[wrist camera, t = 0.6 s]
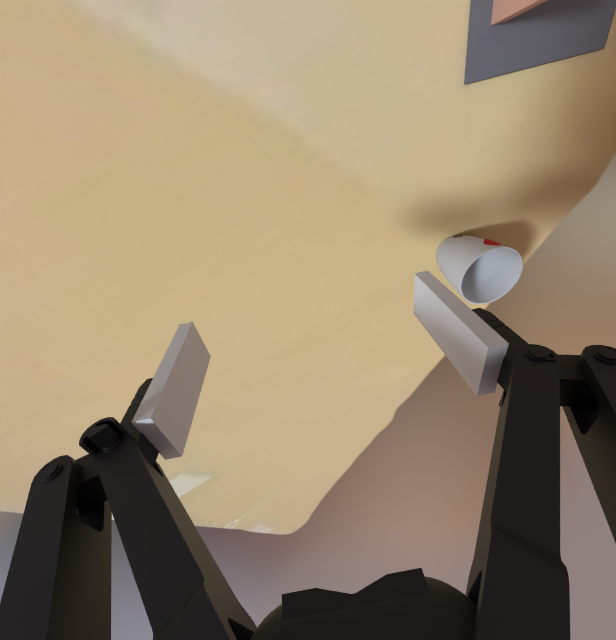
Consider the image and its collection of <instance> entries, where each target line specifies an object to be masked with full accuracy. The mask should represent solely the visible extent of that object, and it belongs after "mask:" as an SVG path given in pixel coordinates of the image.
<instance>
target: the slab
mask: <svg viewBox="0 0 616 640" xmlns="http://www.w3.org/2000/svg"><path fill="white" fill-rule="evenodd" d="M545 1H547V0H494V1H493V10H492V19H491V25H495V24H499V23H503V22H506V21H508V20H510V19H512V18H514V17H516V16H518V15H520V14H522V13H524V12H526V11H528V10H530V9H532V8H534V7H536V6H537V5H539V4H541V3H543V2H545Z"/></svg>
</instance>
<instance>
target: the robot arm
mask: <svg viewBox="0 0 616 640" xmlns="http://www.w3.org/2000/svg"><path fill="white" fill-rule="evenodd" d="M413 313H414V315H415V316H416V317H417V318H418V320H419V321H420V322H421V324H422V325H423V326H424V328H425V329H426V330H427V331H428V333H429V334H430V335H431V337H432V338H433V339H434V341H435V342H436V343H437V344H438V346H439V347H440V348H441V350H442V351H443V352H444V354H445V355H446V356H447V357H448V359H449V360H450V361H451V362H452V364H453V365H454V367H455V368H456V369H457V370H458V372H459V373H460V374H461V376H462V377H463V378H464V380H465V381H466V382H467V383H468V385H469V386H470V387H471V389H472V390H473V391H474V392H475V394H476V395H477V396H478V395H483V394H488V393H493V392H495V389H496V385H497V382H498V383H499V384H500V386H501V387H502V388H503V389H504V391H503V394H502V397H501V400H500V403H499V406H500V411H499V417H498V422H497V428H496V434H495V439H494V445H493V451H492V457H491V462H490V469H489V474H488V480H487V485H486V491H485V497H484V502H483V508H482V514H481V520H480V525H479V532H478V537H477V543H476V549H475V554H474V559H473V563H472V567H471V570H470V575H469V579H468V585H467V590H466V595H464V594H463V593H462V592H460V591H459V590H457V589H456V588H454V587H452V586H451V585H449V584H447V583H444V582H442V581H440V580H437V579H433V578H430V577H425V576H424V574H423V572H422V568H418V569H413V570H407V571H403V572H397V573H392V574H387V575H385V576H383V577H382V578H380V579H379V580H377V581H375V582H373V583H372V584H370V585H368V586H367V587H365V588H364V589H362V590H360V591H358V592H357V593H355V594H347V593H341V592H336V591H329V590H324V589H319V588H313V589H308V590H303V591H297V592H292V593H287V594H282V605H280V606H278V607H277V608H276V609H274V610H273V611H272V612H271V613H270V614H269V615H268V616H267V617H266V618H265V619H264V620H263V621H262V622H261V624H260V625H259V626H258V628H257V627H256V625H255V624H254V622H253V620H252V619H251V617H250V616H249V615H248V613H247V612H246V611H245V610H244V608H243V607H242V606H241V604H240V603H239V601H238V600H237V598H236V597H235V595H234V593H233V591H232V590H231V588H230V586H229V585H228V583H227V581H226V580H225V578H224V576H223V574H222V572H221V571H220V569H219V567H218V565H217V564H216V562H215V560H214V559H213V557H212V555H211V553H210V552H209V550H208V548H207V547H206V545H205V543H204V541H203V540H202V538H201V536H200V535H199V533H198V531H197V529H196V528H195V526H194V524H193V522H192V521H191V519H190V517H189V515H188V514H187V512H186V510H185V508H184V507H183V505H182V503H181V502H180V500H179V498H178V496H177V495H176V493H175V491H174V489H173V488H172V486H171V484H170V483H169V481H168V479H167V477H166V476H165V474H164V472H163V470H162V469H161V467H160V465H159V464H158V463H157V462H156V459H157V456H158V453H160V454H161V455H162V456H163V458H164V459H165V460H166V459H170V458H175V457H180V456H182V455H183V451H184V448H185V444H186V441H187V437H188V434H189V430H190V427H191V423H192V420H193V416H194V413H195V409H196V406H197V402H198V399H199V395H200V392H201V388H202V385H203V381H204V378H205V374H206V371H207V367H208V364H209V360H210V357H211V356H210V354H209V352H208V350H207V348H206V347H205V345H204V343H203V341H202V339H201V337H200V335H199V333H198V331H197V329H196V328H195V326H194V324H193V322H189V323H184V324H180V325H179V327H178V329H177V331H176V333H175V335H174V337H173V339H172V341H171V343H170V345H169V347H168V349H167V351H166V353H165V355H164V357H163V359H162V361H161V363H160V365H159V367H158V369H157V372H156V374H155V376H154V378H150V379H147V380H146V381H145V382H144V383H143V384H142V385H141V386H140V387H139V389H138V391H137V393H136V395H135V398H134V399H133V400H132V402H131V406H129V408H128V410H127V412H126V414H125V415H124V417H123V419H122V421H121V423H119V422H118V421H117V420H116V419H114V418H113V417H107V418H104V419H101V420H99V421H97V422H95V423H94V424H93V425H91V426H90V427H89V428H88V429H87V430H86V431H85V432H84V433H83V434H82V436H81V438H80V440H79V445H80V446H81V447H82V448H83V449H84V450H85V451H87V452H88V453H89V454H88V455H86V456H84V457H81V458H79V459H77V460H74V459H73V458H71V457H70V456H68V455H64V456H60V457H58V458H55V459H53V460H52V461H50V462H49V463H47V464H46V465H45V466H44V467H43V468H42V469H41V470H40V471H39V472H38V473H37V474H36V476H35V477H34V479H33V481H32V484H31V487H30V491H29V495H28V499H27V503H26V507H25V510H24V514H23V518H22V522H21V526H20V530H19V534H18V538H17V541H16V545H15V549H14V553H13V557H12V561H11V564H10V568H9V572H8V576H7V580H6V583H5V588H4V591H3V595H2V599H1V603H0V640H111V517H112V514H113V517H114V519H115V522H116V525H117V528H118V531H119V534H120V536H121V540H122V543H123V546H124V549H125V551H126V554H127V557H128V560H129V563H130V566H131V569H132V572H133V575H134V578H135V581H136V583H137V586H138V589H139V592H140V595H141V598H142V601H143V604H144V607H145V610H146V613H147V616H148V618H149V621H150V624H151V627H152V631H153V640H570V604H569V603H570V600H569V577H568V572H567V568H566V566H565V565H564V564H563V562H562V561H561V557H560V406H563V409H564V412H565V414H566V416H567V419H568V422H569V424H570V427H571V429H572V432H573V435H574V437H575V440H576V442H577V445H578V447H579V450H580V453H581V455H582V457H583V460H584V463H585V465H586V468H587V470H588V473H589V476H590V478H591V481H592V483H593V486H594V489H595V491H596V494H597V496H598V499H599V501H600V504H601V507H602V509H603V512H604V514H605V517H606V519H607V521H608V524H609V527H610V530H611V532H612V534H613V537H614V540H615V542H616V349H615V348H612V347H609V346H603V345H591V346H588V347H585V349H584V350H583V351H582V353H581V355H558V354H556V353H555V352H554V351H552V350H550V349H549V348H547V347H544V346H540V345H534V344H528V343H527V342H526V341H524V340H523V339H522V338H521V337H520V336H518V335H517V334H516V333H515V332H513V331H512V330H511V329H510V328H509V327H508V326H505V324H504V323H503V322H502V321H499V319H498V318H497V317H496V316H494V315H493V314H492V313H491V312H488V311H486V310H484V309H481V308H477V309H472V310H471V309H470V308H469V307H468V306H467V305H466V304H464V303H463V302H462V301H461V300H460V299H459V298H458V297H457V296H456V295H454V294H453V293H452V292H451V291H450V290H449V289H448V288H447V287H446V286H444V285H443V284H442V283H441V282H440V281H439V280H438V279H437V278H436V277H434V276H433V275H432V274H431V273H430V272H429V271H424V272H420V273H415V280H414V309H413Z"/></svg>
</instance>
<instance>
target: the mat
mask: <svg viewBox="0 0 616 640" xmlns="http://www.w3.org/2000/svg"><path fill="white" fill-rule="evenodd" d="M493 1H494V0H471V6H470V19H469V31H468V44H467V56H466V69H465V81H464V84H468V83H472V82H476V81H480V80H484V79H487V78H491V77H495V76H499V75H503V74H507V73H511V72H514V71H518V70H522V69H526V68H530V67H534V66H538V65H541V64H545V63H549V62H553V61H557V60H561V59H564V58H568V57H572V56H576V55H580V54H584V53H588V52H591V51H595V50H599V49H603V48H604V47H605V44H606V40H607V37H608V33H609V29H610V26H611V22H612V19H613V15H614V12H615V8H616V0H547V1H545V2H543V3H541V4H539V5H537V6H536V7H534V8H532V9H530V10H528V11H526V12H524V13H522V14H520V15H518V16H516V17H514V18H512V19H510V20H508V21H506V22H503V23H499V24H495V25H491V19H492V10H493Z"/></svg>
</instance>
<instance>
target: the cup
mask: <svg viewBox="0 0 616 640" xmlns="http://www.w3.org/2000/svg"><path fill="white" fill-rule="evenodd" d="M436 260H437V263H438V266H439V269H440V271H441V272H442V273H443V275H444V276H445V278H446V279H447V281H448V282H449V284H450V285H451V286H452V287H453V288H454V289H455V290H456V291H457V292H458V293H459V294H460V295H461V296H462V297H463V298H464V299H465V300H466V301H467V302H469V303H472V304H486V303H490V302H493V301H495V300H497V299H499V298H500V297H502V296H503V295H505V294H506V293H507V292H508V291H510V289H512V287H513V286H514V285H515V284H516V282H517V281H518V279H519V277H520V275H521V272H522V268H523V261H522V257H521V255H520V254H519V253H518V252H517V251H516V250H514V249H512V248H510V247H507V246H504V245H502V244H499V243H496V242H494V241H491V240H488V239H484V238H479V237H474V236H469V235H460V236H451V237H448V238H446V239H445V240H444V241H442V242H441V244H440V245H439V246H438V248H437V251H436Z"/></svg>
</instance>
